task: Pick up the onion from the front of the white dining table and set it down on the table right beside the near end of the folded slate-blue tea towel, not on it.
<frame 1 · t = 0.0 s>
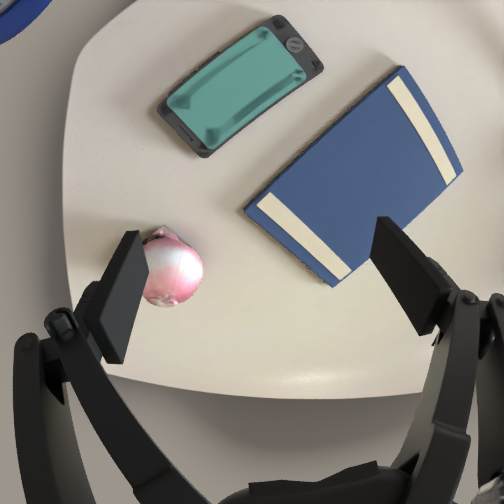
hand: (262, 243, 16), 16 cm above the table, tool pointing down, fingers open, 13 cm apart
onion: (171, 251, 34), on the table
smartphone: (239, 83, 25), on the table
towel: (368, 183, 31), on the table
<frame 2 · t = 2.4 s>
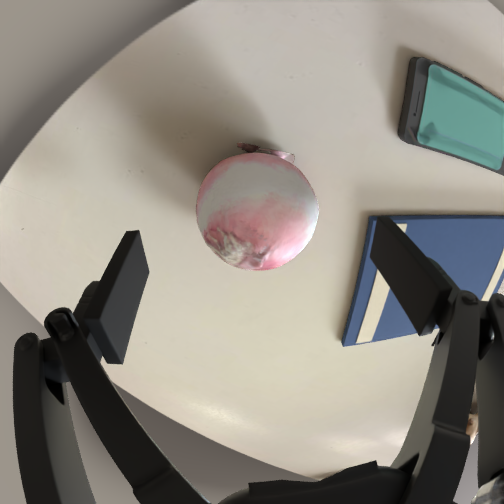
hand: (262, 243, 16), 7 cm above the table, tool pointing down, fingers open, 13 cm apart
onion: (254, 189, 22), on the table
smartphone: (466, 119, 19), on the table
towel: (445, 277, 29), on the table
ceramic vessel: (461, 418, 65), on the table
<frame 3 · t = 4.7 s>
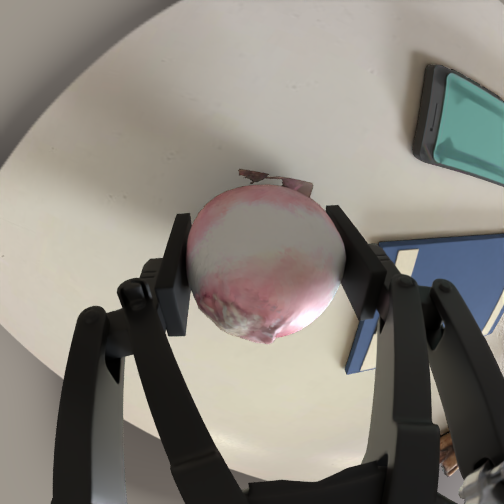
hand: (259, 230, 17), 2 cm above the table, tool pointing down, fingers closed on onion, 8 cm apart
onion: (260, 225, 18), point 2 cm above the table, touching gripper
smartphone: (482, 133, 17), on the table
towel: (454, 300, 26), on the table
ceramic vessel: (463, 428, 62), on the table
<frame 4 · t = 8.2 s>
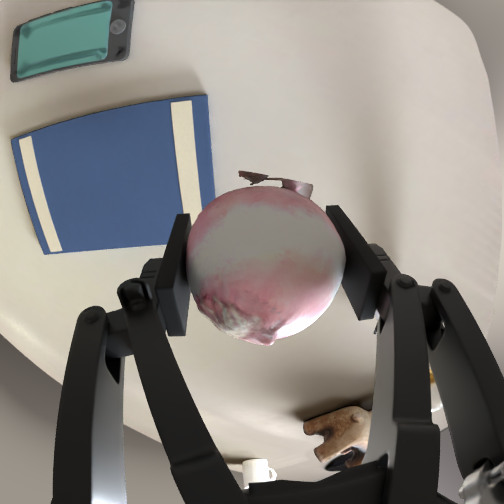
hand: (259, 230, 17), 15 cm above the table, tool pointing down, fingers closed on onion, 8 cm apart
mug: (259, 460, 79), on the table
onion: (260, 226, 18), point 14 cm above the table, touching gripper
smartphone: (68, 38, 20), on the table
perfume bottle: (382, 298, 42), on the table
towel: (106, 182, 29), on the table
ceramic vessel: (363, 414, 66), on the table
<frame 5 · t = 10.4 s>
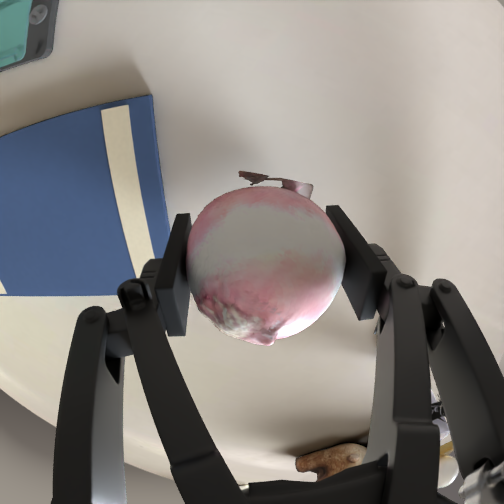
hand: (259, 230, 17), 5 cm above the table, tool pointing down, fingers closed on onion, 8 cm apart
onion: (260, 226, 18), point 5 cm above the table, touching gripper
perfume bottle: (390, 346, 34), on the table
towel: (38, 218, 21), on the table
ceramic vessel: (361, 447, 57), on the table
when the fingers open (0 cm above the table, at t = 11.8 s): onion stays where it is, on the table.
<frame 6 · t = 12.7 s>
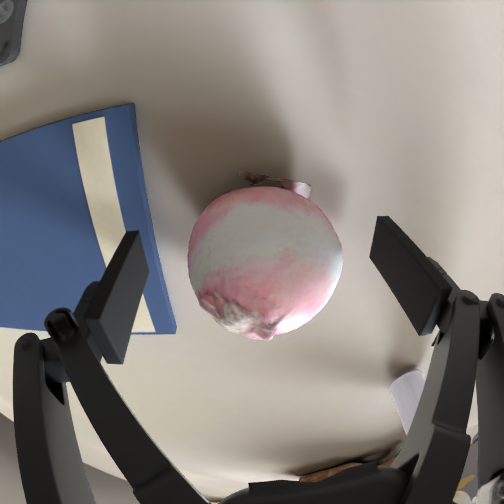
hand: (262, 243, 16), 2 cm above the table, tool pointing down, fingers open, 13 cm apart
onion: (260, 226, 18), on the table
perfume bottle: (403, 375, 30), on the table
towel: (14, 248, 17), on the table
ceramic vessel: (366, 464, 53), on the table
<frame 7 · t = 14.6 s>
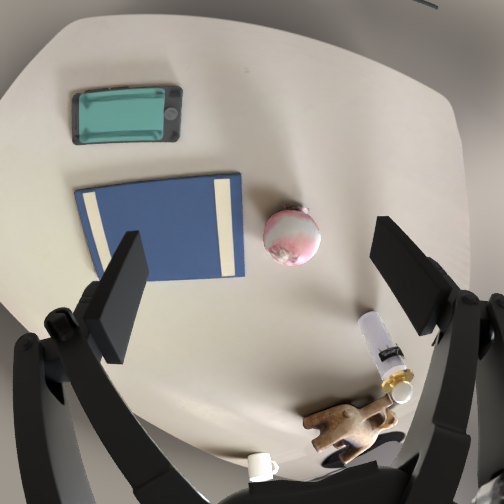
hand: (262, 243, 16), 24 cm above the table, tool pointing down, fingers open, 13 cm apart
mug: (262, 454, 90), on the table
onion: (287, 224, 43), on the table
smartphone: (125, 113, 33), on the table
perfume bottle: (366, 316, 55), on the table
towel: (159, 232, 42), on the table
ceramic vessel: (354, 412, 77), on the table
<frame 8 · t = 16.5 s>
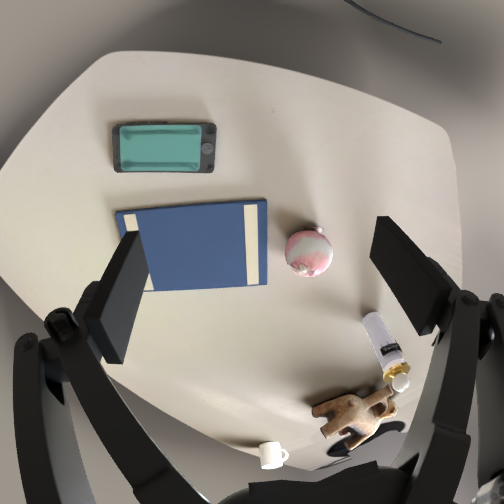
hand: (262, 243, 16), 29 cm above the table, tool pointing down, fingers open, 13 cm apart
mug: (273, 443, 99), on the table
onion: (304, 241, 50), on the table
smartphone: (163, 145, 40), on the table
perfume bottle: (369, 316, 62), on the table
towel: (194, 248, 49), on the table
ceramic vessel: (358, 402, 86), on the table
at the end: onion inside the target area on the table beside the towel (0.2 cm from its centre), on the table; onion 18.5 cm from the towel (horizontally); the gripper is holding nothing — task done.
